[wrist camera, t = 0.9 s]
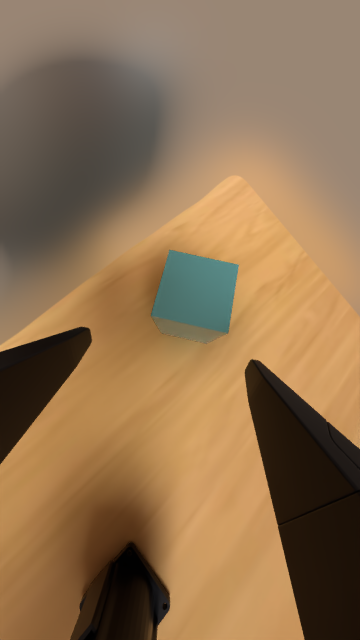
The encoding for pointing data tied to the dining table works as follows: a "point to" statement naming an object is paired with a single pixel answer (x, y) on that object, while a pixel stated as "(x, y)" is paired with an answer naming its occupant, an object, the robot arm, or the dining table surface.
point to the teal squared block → (195, 297)
